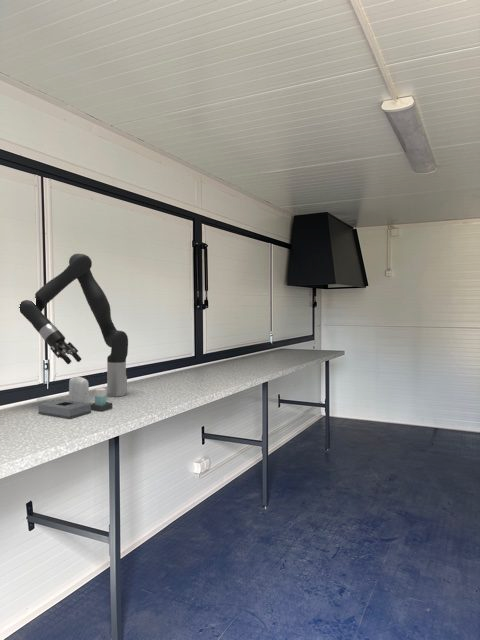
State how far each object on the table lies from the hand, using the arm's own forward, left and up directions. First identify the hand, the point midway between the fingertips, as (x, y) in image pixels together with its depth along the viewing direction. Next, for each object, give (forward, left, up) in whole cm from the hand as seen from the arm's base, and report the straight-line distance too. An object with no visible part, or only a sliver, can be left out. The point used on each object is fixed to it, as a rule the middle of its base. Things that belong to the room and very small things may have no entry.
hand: (75, 361), depth 205 cm
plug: (-3, +12, -21) cm, 24 cm away
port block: (+10, +4, -21) cm, 23 cm away
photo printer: (-7, -5, -21) cm, 23 cm away
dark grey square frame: (-3, +12, -21) cm, 24 cm away
